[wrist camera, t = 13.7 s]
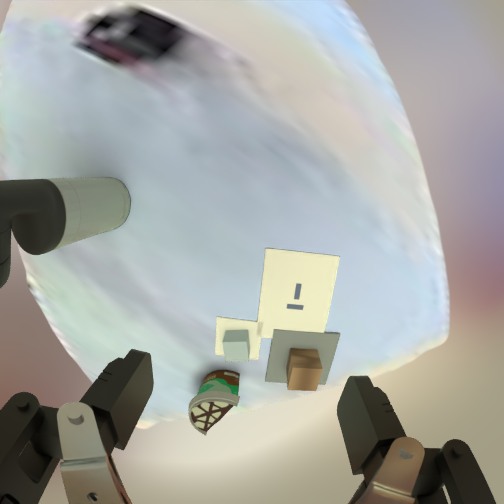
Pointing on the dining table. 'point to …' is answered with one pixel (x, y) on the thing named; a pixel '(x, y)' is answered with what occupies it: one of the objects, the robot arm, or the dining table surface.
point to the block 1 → (236, 345)
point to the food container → (214, 399)
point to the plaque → (237, 324)
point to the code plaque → (295, 291)
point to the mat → (301, 340)
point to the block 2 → (303, 369)
